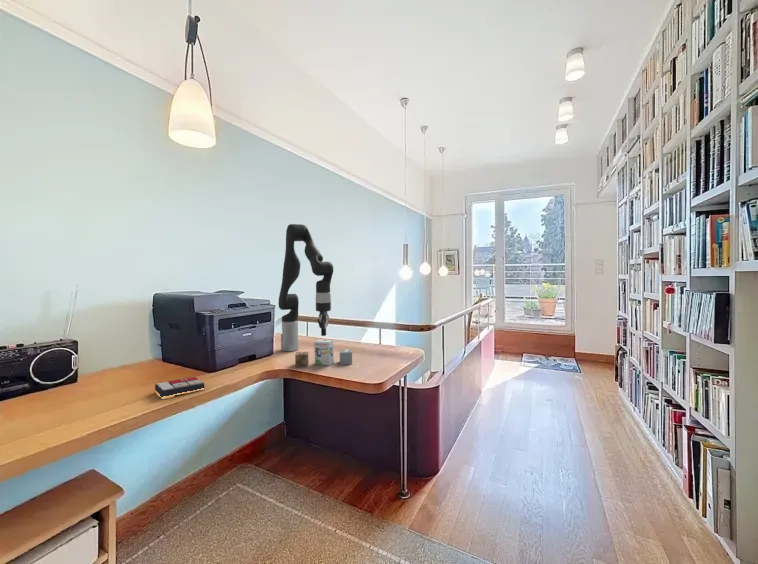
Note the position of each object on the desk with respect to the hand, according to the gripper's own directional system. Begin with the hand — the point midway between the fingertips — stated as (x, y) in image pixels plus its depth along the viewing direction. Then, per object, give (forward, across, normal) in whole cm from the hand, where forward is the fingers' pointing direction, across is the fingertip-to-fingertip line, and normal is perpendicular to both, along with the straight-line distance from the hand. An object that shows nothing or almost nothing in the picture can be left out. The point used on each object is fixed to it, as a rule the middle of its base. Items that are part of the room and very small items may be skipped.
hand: (323, 335), depth 176 cm
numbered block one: (+14, +3, -10) cm, 18 cm away
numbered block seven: (+14, -3, +11) cm, 18 cm away
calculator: (+15, +43, -47) cm, 66 cm away
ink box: (+15, 0, 0) cm, 15 cm away
